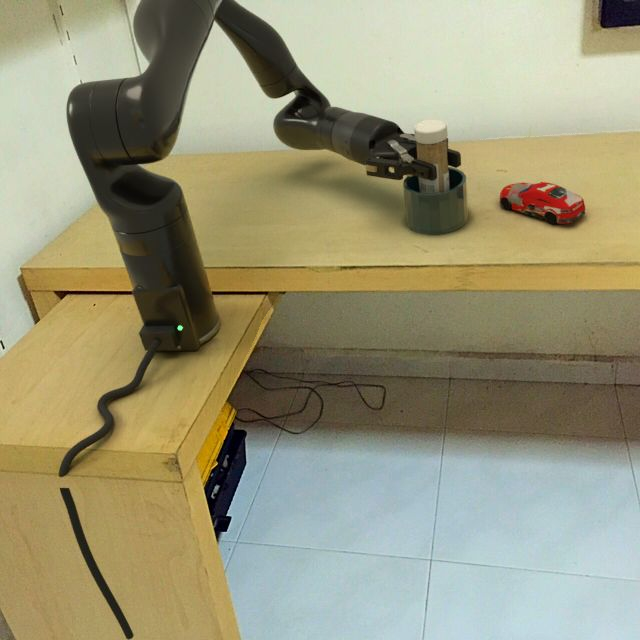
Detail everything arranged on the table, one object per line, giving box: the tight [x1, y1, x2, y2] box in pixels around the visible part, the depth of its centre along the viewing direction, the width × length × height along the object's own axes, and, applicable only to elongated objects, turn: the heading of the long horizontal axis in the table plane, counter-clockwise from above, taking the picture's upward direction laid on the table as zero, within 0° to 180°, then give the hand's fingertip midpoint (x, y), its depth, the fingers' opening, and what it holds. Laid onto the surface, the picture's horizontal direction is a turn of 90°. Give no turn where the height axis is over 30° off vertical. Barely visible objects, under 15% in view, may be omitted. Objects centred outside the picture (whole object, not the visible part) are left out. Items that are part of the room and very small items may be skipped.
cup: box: [402, 166, 469, 236], centre depth 111 cm, size 9×9×6 cm
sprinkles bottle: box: [413, 119, 450, 193], centre depth 108 cm, size 5×5×13 cm
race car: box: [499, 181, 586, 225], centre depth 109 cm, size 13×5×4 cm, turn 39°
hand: (446, 166), depth 105 cm, fingers closed on sprinkles bottle, 4 cm apart
